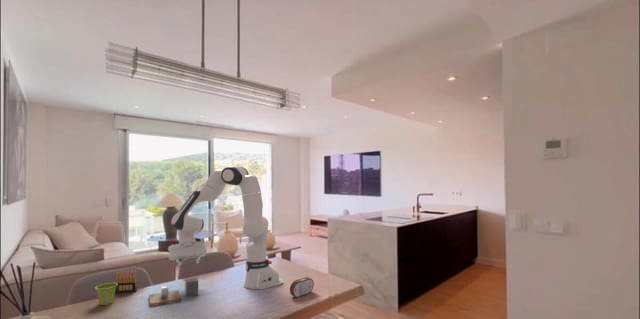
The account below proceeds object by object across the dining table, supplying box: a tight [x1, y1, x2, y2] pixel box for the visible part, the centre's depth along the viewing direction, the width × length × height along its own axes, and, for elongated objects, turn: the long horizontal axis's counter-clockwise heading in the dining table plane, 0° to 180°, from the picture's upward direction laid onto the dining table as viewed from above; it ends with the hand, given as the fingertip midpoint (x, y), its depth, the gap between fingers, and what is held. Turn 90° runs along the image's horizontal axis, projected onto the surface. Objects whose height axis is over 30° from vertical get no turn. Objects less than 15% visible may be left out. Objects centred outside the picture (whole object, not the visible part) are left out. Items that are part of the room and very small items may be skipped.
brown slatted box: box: [115, 269, 138, 294], centre depth 180 cm, size 11×2×12 cm, turn 99°
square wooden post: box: [160, 286, 169, 298], centre depth 168 cm, size 3×3×4 cm
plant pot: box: [94, 282, 118, 306], centre depth 164 cm, size 9×9×9 cm
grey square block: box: [184, 277, 199, 298], centre depth 175 cm, size 6×6×8 cm
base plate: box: [148, 289, 182, 308], centre depth 168 cm, size 14×14×2 cm
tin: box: [289, 276, 315, 298], centre depth 172 cm, size 15×3×8 cm, turn 135°
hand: (189, 263), depth 185 cm, fingers open, 8 cm apart
